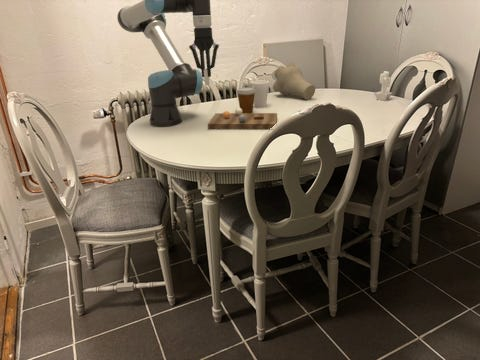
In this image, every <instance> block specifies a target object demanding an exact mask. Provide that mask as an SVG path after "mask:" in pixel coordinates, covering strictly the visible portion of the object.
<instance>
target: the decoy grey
mask: <svg viewBox="0 0 480 360" xmlns="http://www.w3.org/2000/svg"><path fill="white" fill-rule="evenodd" d="M238 120H239V121H240V122H244V121H245V120H246V117H245V115H243V114H241V115H239V117H238Z"/></svg>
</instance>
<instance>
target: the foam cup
mask: <svg viewBox="0 0 480 360" xmlns="http://www.w3.org/2000/svg"><path fill="white" fill-rule="evenodd" d="M269 86H270V82H269V81H268V80H263V79H262V80H261V79H260V80H252V81H250V87H251V88H254V89H255V94H254V105H253V108H257V109H258V108H259V109H260V108H261V109H263V108H266V107H267V101H268V93H269Z"/></svg>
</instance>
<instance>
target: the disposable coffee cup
mask: <svg viewBox="0 0 480 360" xmlns="http://www.w3.org/2000/svg"><path fill="white" fill-rule="evenodd" d="M236 94H237V98H238V99H237V100H238V105H239V108H241V109H242V113H254V94H255V89H254V88H252V87H251V86H250V87H248V86H247V87H238V88H237V89H236Z"/></svg>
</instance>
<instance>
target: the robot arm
mask: <svg viewBox="0 0 480 360" xmlns="http://www.w3.org/2000/svg"><path fill="white" fill-rule="evenodd" d="M211 11H212V10H211V0H141V1H140V2H138V3H135V4H133V5H132V6H130V5H129V6H128V5H127V6H124V7H122V8H120V10H119V11H118V13H117V18H116V19H117V22H118V24H119V26H120V27H121V28H122V29H123V30H125V31H127V32H129V33H143V35H144V36H145V38H147V39H149V40H150V41H151V43H153V44H152V45H154V48H155V49H156V50H157V52H158V54H159V56H160V57H161V59H162V61H163V62H164V64H165V66H166V67H167V69H168V70H167V69H165V70H159V71H155V72H153V73H150V75H148V77H147V87H148V92H149V98H150V105H151V109H150V110H151V111H150V115H149V116H150V117H149V123H150V126H152V127H157V128H158V127H162V128H163V127H172V126H176V125H179V124H181V123H182V122H183V118H182V114H181V112H180V110H179V108H178V105H177V99H181V98H185V97H190V96H194V95H198V94H200V93H201V91H202V90H203V83H204V86H210V78H211V77H212V70H211V69H214V68H215V65H216V58H217V54H218V53H217V51H218V49H219V47H220V44H219V43H216V42H215V41H214V40H215V39H214V38H213V28H212V27H211V26H212V14H211ZM174 13H175V14H176V13H177V14H178V13H183V14H184V13H185V14H187V13H192V21H193V22H192V23H193V27H194V28H193V34H194V41H193V43H192V44H191V45H189V46H188V47H189V49H190V51H191V52H192V57H193V58H194V62H195V65H196V69H193V68H192V67H191V65H190V63H187V62H185V61H184V59H183V58H182V56H181V54H180V53H179V51H178V49H177V48H176V46H175V44H174V43H173V41H172V39H171V37H170V35H169V34H168V33H167V31H166V27H167V19H166V16H165V14H174ZM196 48H197V50H199V56H198V52H197V50H196ZM211 48H213V51H212V57H211V55H210V54H211V53H210V50H211ZM205 62H206V63H205ZM198 69H199V70H201V71H199V70H198ZM203 78H204V80H203ZM203 81H204V82H203Z"/></svg>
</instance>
